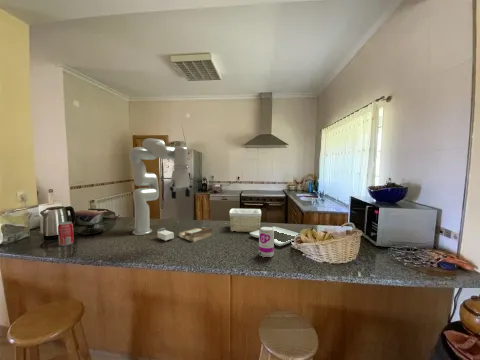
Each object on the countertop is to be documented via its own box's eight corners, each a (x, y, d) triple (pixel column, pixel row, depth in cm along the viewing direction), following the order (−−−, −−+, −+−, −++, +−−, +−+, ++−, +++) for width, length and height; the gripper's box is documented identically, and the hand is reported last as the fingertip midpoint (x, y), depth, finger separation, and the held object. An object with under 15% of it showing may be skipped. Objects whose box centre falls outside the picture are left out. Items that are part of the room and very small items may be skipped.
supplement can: (269, 259, 118) (270, 231, 116) (255, 255, 122) (256, 228, 121) (275, 254, 124) (276, 228, 123) (262, 251, 129) (263, 225, 128)
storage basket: (228, 232, 164) (228, 212, 163) (230, 226, 180) (230, 207, 179) (261, 233, 163) (261, 213, 162) (260, 226, 179) (260, 208, 178)
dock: (178, 236, 152) (178, 228, 151) (196, 231, 164) (196, 223, 164) (193, 241, 142) (193, 233, 141) (211, 235, 154) (211, 227, 154)
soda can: (76, 243, 135) (75, 222, 134) (62, 247, 129) (62, 225, 128) (69, 241, 138) (68, 220, 137) (56, 245, 132) (55, 223, 131)
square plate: (280, 249, 132) (280, 243, 132) (248, 237, 153) (248, 232, 153) (305, 240, 150) (305, 234, 150) (274, 230, 171) (274, 225, 170)
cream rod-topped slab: (156, 238, 146) (156, 229, 145) (164, 236, 151) (164, 227, 150) (165, 242, 140) (165, 232, 139) (173, 239, 145) (173, 230, 144)
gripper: (188, 167, 138) (188, 195, 140) (163, 168, 125) (164, 198, 126) (196, 168, 134) (196, 196, 135) (172, 168, 120) (172, 199, 121)
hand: (180, 197), depth 130 cm, fingers open, 9 cm apart
